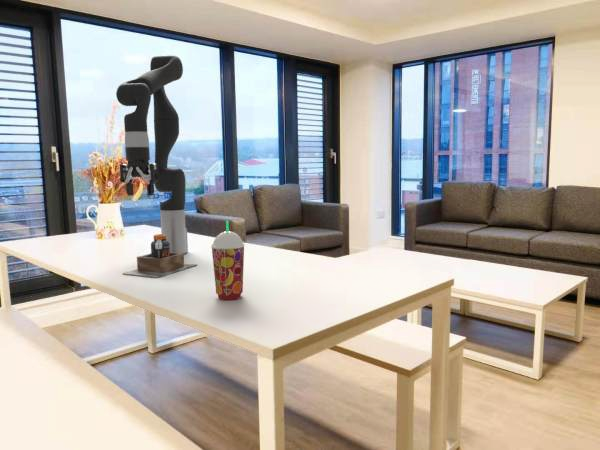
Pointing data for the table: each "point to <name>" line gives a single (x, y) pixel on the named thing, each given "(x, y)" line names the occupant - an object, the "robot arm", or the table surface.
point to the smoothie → (228, 264)
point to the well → (159, 265)
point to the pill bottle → (160, 247)
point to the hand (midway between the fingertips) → (140, 195)
